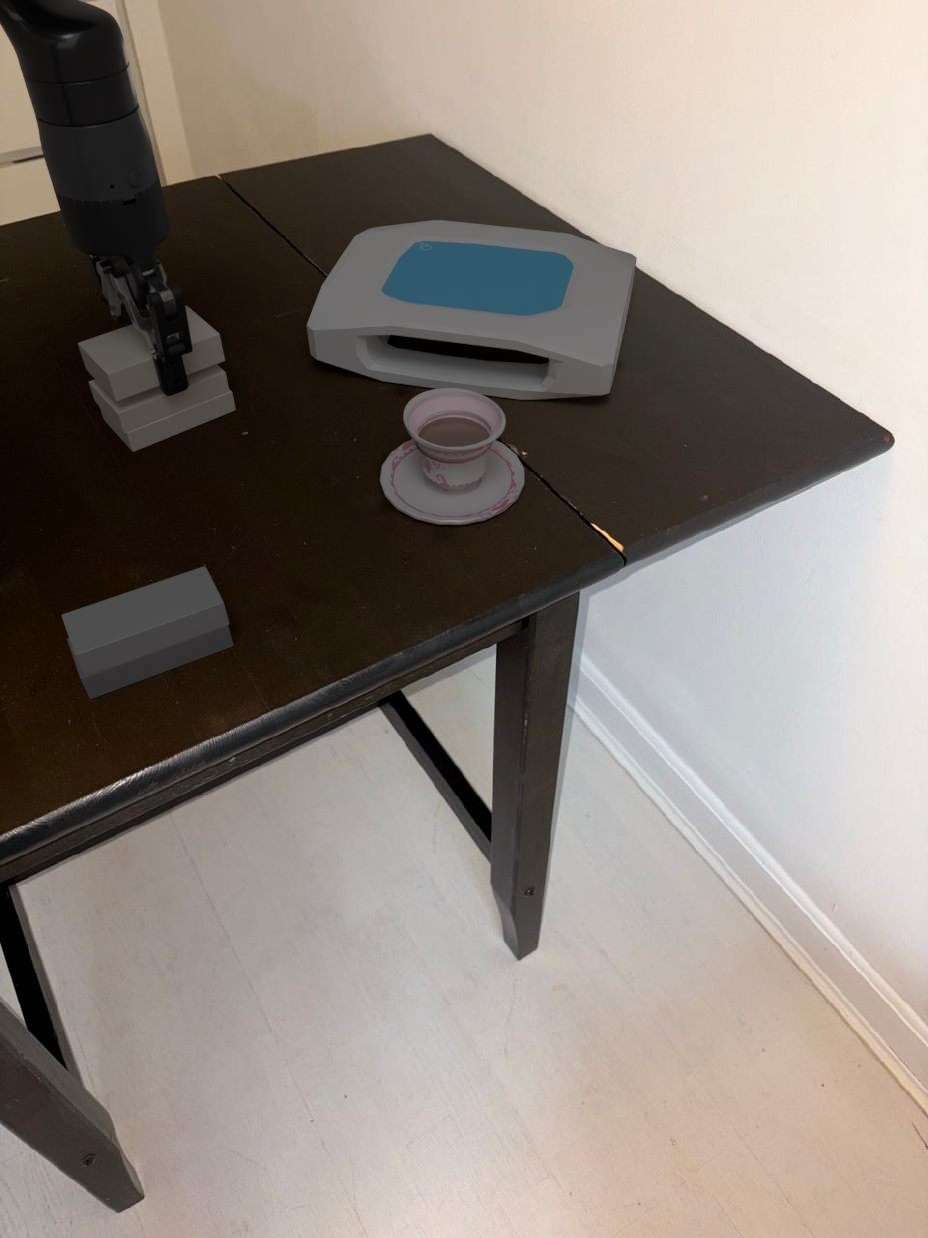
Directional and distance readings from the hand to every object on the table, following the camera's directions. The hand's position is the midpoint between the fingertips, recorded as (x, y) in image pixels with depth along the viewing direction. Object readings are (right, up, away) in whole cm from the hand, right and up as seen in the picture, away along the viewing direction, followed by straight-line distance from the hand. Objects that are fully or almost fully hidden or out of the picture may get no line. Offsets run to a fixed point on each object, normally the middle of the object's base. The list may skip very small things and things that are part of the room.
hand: (158, 373), depth 82 cm
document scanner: (+28, +7, +13) cm, 31 cm away
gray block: (+5, -23, -16) cm, 29 cm away
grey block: (0, -3, +3) cm, 4 cm away
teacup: (+25, -10, -3) cm, 27 cm away
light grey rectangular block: (0, +1, -1) cm, 1 cm away
